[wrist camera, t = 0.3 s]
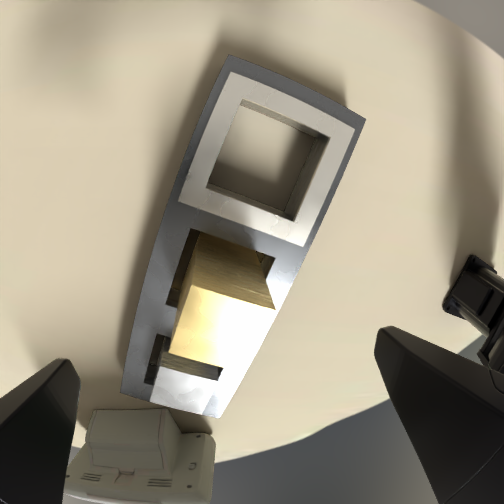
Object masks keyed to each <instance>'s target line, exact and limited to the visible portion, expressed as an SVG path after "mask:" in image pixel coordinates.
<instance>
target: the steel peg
mask: <svg viewBox="0 0 504 504" xmlns="http://www.w3.org/2000/svg"><path fill="white" fill-rule="evenodd" d="M170 342H171V337H167V336H165V338H164V341H163V345H162V348H161V351H160V355H159V358H158V362H157V367H156V372H155V377H154V382H153V387H152V392H151V397H150V402H153V403H156V404H160V405H164V406H167V407H171V408H175V409H179V410H183V411H188V412H192V413H197V414H201V415H202V413H203V411H204V409H205V407H206V405H207V403H208V401H209V399H210V397H211V395H212V393H213V391H214V389H215V387H216V385H217V383H218V366H215V365H211V364H207V363H203V362H200V361H196V360H192V359H189V358H185V357H182V356H178V355H175V354H171V353H169V347H170Z"/></svg>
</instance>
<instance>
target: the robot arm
mask: <svg viewBox="0 0 504 504" xmlns="http://www.w3.org/2000/svg"><path fill="white" fill-rule="evenodd" d="M443 310H444V311H445V312H447V313H449V314H452V315H454V316H457V317H460V318H462V319H465V320H467V321H469V322H470V323H471V324H472V325H473V326H474V327H475V328H477V329H478V330H479V331H480V332H481V333H482V334H483V335H485V336H486V337H487V339H486V341H485V342H484V344H483V346H482V347H481V349H480V350H479V351H478V353H477V355H478V357H479V358H480V361H481V362H482V364H483V365H484V366H483V365H480V364H478V363H475V362H474V361H471V360H469V359H467V358H464V357H462V356H460V355H458V354H455V353H453V352H451V351H448V350H446V349H444V348H442V347H439V346H437V345H435V344H432V343H430V342H428V341H426V340H423V339H421V338H419V337H417V336H414V335H412V334H410V333H408V332H405V331H403V330H401V329H399V328H396V327H394V326H387V327H383V328H380V329H379V331H378V333H377V338H376V344H375V349H374V356H375V359H376V362H377V365H378V367H379V370H380V373H381V375H382V378H383V381H384V383H385V386H386V389H387V391H388V394H389V397H390V399H391V401H392V403H393V405H394V407H395V409H396V411H397V413H398V415H399V417H400V419H401V422H402V423H403V426H404V428H405V430H406V432H407V434H408V436H409V438H410V440H411V442H412V444H413V447H414V449H415V451H416V453H417V455H418V457H419V459H420V462H421V464H422V466H423V468H424V471H425V473H426V475H427V477H428V479H429V482H430V484H431V487H432V489H433V491H434V494H435V496H436V498H437V501H438V503H439V504H504V279H503V278H501V277H500V276H498V275H497V271H495V270H494V269H493V268H492V267H490V266H489V265H488V264H486V263H485V262H484V261H482V260H481V259H480V258H478V257H477V256H475V255H474V254H471V255H470V257H469V259H468V261H467V263H466V265H465V267H464V269H463V271H462V273H461V275H460V277H459V279H458V280H457V282H456V284H455V286H454V288H453V290H452V292H451V293H450V295H449V297H448V299H447V301H446V302H445V304H444V306H443ZM80 389H81V381H80V378H79V376H78V374H77V372H76V370H75V369H74V367H73V365H72V363H71V361H70V360H69V359H63V358H58V359H56V360H54V361H53V362H51V363H50V364H48V365H47V366H45V367H44V368H43V369H41V370H40V371H38V372H37V373H35V374H34V375H33V376H31V377H30V378H28V379H27V380H26V381H24V382H23V383H21V384H20V385H18V386H17V387H16V388H14V389H13V390H11V391H10V392H9V393H7V394H6V395H4V396H3V397H2V398H0V504H62V500H63V492H64V485H65V478H66V472H67V466H68V460H69V454H70V450H71V445H72V440H73V435H74V430H75V424H76V417H77V409H78V402H79V395H80Z"/></svg>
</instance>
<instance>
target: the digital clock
mask: <svg viewBox="0 0 504 504" xmlns="http://www.w3.org/2000/svg"><path fill="white" fill-rule="evenodd" d="M85 442H86V443H85V444H84V445H83V447H82V448H81V450H80V451H79V452H78V454H77V455H76V456H75V458H74V459H73V460H72V462H71V463H70V464H69V466H68V467H67V472H66V478H65V485H64V492H63V493H65V494H67V495H70V496H72V497H75V498H78V499H83V500H88V501H92V502H98V503H104V504H209V503H210V500H211V495H212V485H213V472H214V460H215V448H216V443H215V441H214V439H213V438H212V437H211V436H210V435H208V434H206V433H186V434H182V433H181V431H180V430H179V428H178V426H177V424H176V423H175V421H174V419H173V417H172V416H171V414H170V412H169V410H168V409H167V408H161V409H140V410H94V411H93V414H92V417H91V420H90V423H89V426H88V429H87V432H86V437H85Z"/></svg>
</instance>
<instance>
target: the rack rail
mask: <svg viewBox="0 0 504 504" xmlns="http://www.w3.org/2000/svg"><path fill="white" fill-rule="evenodd" d="M239 105H242V106H244V107H247V108H249V109H252V110H254V111H257V112H259V113H262V114H264V115H266V116H269V117H271V118H274V119H276V120H278V121H280V122H283V123H285V124H287V125H289V126H292V127H294V128H296V129H298V130H300V131H302V132H304V133H307V134H309V135H311V136H313V137H315V138H316V139H315V141H314V143H313V146H312V148H311V150H310V153H309V155H308V157H307V160H306V162H305V164H304V166H303V169H302V171H301V173H300V176H299V178H298V180H297V183H296V185H295V187H294V189H293V192H292V194H291V196H290V199H289V201H288V203H287V205H286V208H285V210H284V212H283V211H281V210H278V209H276V208H273V207H271V206H268V205H266V204H263V203H261V202H258V201H256V200H253V199H250V198H248V197H245V196H242V195H240V194H237V193H235V192H232V191H229V190H227V189H224V188H221V187H218V186H216V185H213V184H210V183H207V182H208V180H209V177H210V174H211V172H212V169H213V167H214V164H215V162H216V159H217V157H218V154H219V152H220V149H221V147H222V145H223V142H224V140H225V137H226V135H227V133H228V130H229V128H230V126H231V123H232V121H233V119H234V116H235V114H236V112H237V109H238V107H239ZM365 121H366V119H365V118H363V117H362V116H360V115H358V114H357V113H355V112H353V111H351V110H350V109H348V108H346V107H344V106H342V105H341V104H339V103H337V102H335V101H333V100H331V99H330V98H328V97H326V96H324V95H322V94H320V93H318V92H316V91H314V90H312V89H310V88H308V87H306V86H304V85H302V84H300V83H298V82H295V81H293V80H291V79H289V78H287V77H284V76H282V75H280V74H278V73H275V72H273V71H271V70H268V69H266V68H263V67H261V66H258V65H256V64H253V63H251V62H248V61H246V60H243V59H240V58H237V57H235V56H232V55H228V57H227V59H226V61H225V63H224V65H223V67H222V69H221V71H220V74H219V76H218V78H217V80H216V82H215V84H214V87H213V89H212V91H211V93H210V95H209V98H208V100H207V102H206V104H205V107H204V109H203V111H202V114H201V116H200V118H199V121H198V123H197V126H196V128H195V131H194V133H193V135H192V138H191V140H190V143H189V146H188V148H187V151H186V153H185V156H184V159H183V161H182V164H181V167H180V169H179V172H178V175H177V177H176V180H175V183H174V186H173V189H172V192H171V194H170V197H169V200H168V203H167V206H166V209H165V212H164V215H163V218H162V222H161V225H160V228H159V231H158V234H157V238H156V241H155V244H154V248H153V251H152V254H151V258H150V261H149V265H148V269H147V272H146V276H145V280H144V283H143V287H142V291H141V295H140V299H139V303H138V307H137V311H136V315H135V320H134V324H133V328H132V333H131V338H130V342H129V347H128V352H127V357H126V362H125V367H124V373H123V378H122V384H121V390H120V393H123V394H126V395H129V396H132V397H135V398H138V399H142V400H145V401H148V402H150V397H151V392H152V387H153V382H154V377H155V372H156V367H157V366H156V365H153V364H149V359H150V356H151V352H152V348H153V345H154V341H155V338H156V334H157V333H158V334H161V335H164V336H167V337H172V331H173V326H174V321H175V316H176V311H177V306H178V302H179V297H180V292H181V291H180V290H177V289H174V288H171V284H172V281H173V278H174V275H175V272H176V269H177V266H178V263H179V260H180V257H181V254H182V251H183V248H184V245H185V242H186V239H187V236H188V234H189V231H190V228H193V229H196V230H199V231H201V232H204V233H207V234H210V235H213V236H216V237H219V238H221V239H224V240H227V241H230V242H233V243H236V244H238V245H241V246H244V247H247V248H250V249H253V250H256V251H258V252H261V253H264V254H265V255H264V257H263V260H262V262H261V264H260V265H261V268H262V271H263V274H264V277H265V279H266V282H267V285H268V288H269V291H270V294H271V296H272V299H273V302H274V305H275V308H276V313H275V315H274V317H273V319H272V321H271V323H270V325H269V327H268V329H267V331H266V333H265V335H264V336H263V338H262V340H261V342H260V344H259V346H258V348H257V350H256V352H257V351H258V349H259V347H260V345H261V343H262V341H263V339H264V338H265V336H266V334H267V332H268V330H269V328H270V326H271V324H272V322H273V320H274V318H275V317H276V315H277V313H278V311H279V309H280V307H281V305H282V303H283V301H284V299H285V297H286V295H287V293H288V291H289V289H290V287H291V285H292V283H293V281H294V279H295V277H296V275H297V273H298V271H299V269H300V267H301V265H302V263H303V261H304V259H305V256H306V254H307V252H308V250H309V248H310V246H311V244H312V242H313V240H314V238H315V235H316V233H317V231H318V229H319V227H320V225H321V223H322V220H323V218H324V216H325V214H326V212H327V209H328V207H329V205H330V203H331V201H332V198H333V196H334V194H335V192H336V189H337V187H338V185H339V183H340V180H341V178H342V176H343V173H344V171H345V169H346V167H347V164H348V162H349V160H350V157H351V155H352V152H353V150H354V148H355V145H356V143H357V140H358V138H359V136H360V133H361V131H362V128H363V126H364V123H365ZM256 352H255V353H254V355H253V357H252V359H251V361H250V363H249V365H250V364H251V362H252V360H253V358H254V356H255V354H256ZM249 365H248V366H247V368H246V370H245V372H241V371H236V370H232V369H228V368H223V367H219V366H218V383H217V385H216V387H215V389H214V391H213V393H212V395H211V397H210V399H209V401H208V403H207V405H206V407H205V409H204V411H203V413H202V415H205V416H210V417H215V418H220V417H221V415H222V413H223V411H224V410H225V408H226V406H227V405H228V403H229V401H230V399H231V398H232V396H233V394H234V392H235V391H236V389H237V387H238V385H239V383H240V382H241V380H242V378H243V376H244V374H245V373H246V371H247V369H248V367H249ZM152 403H153V402H152ZM155 404H156V403H155ZM159 405H160V404H159ZM163 406H164V405H163ZM170 408H171V407H170ZM174 409H175V408H174ZM178 410H179V409H178ZM182 411H183V410H182ZM187 412H188V411H187ZM191 413H192V412H191ZM196 414H197V413H196ZM200 415H201V414H200Z"/></svg>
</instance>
